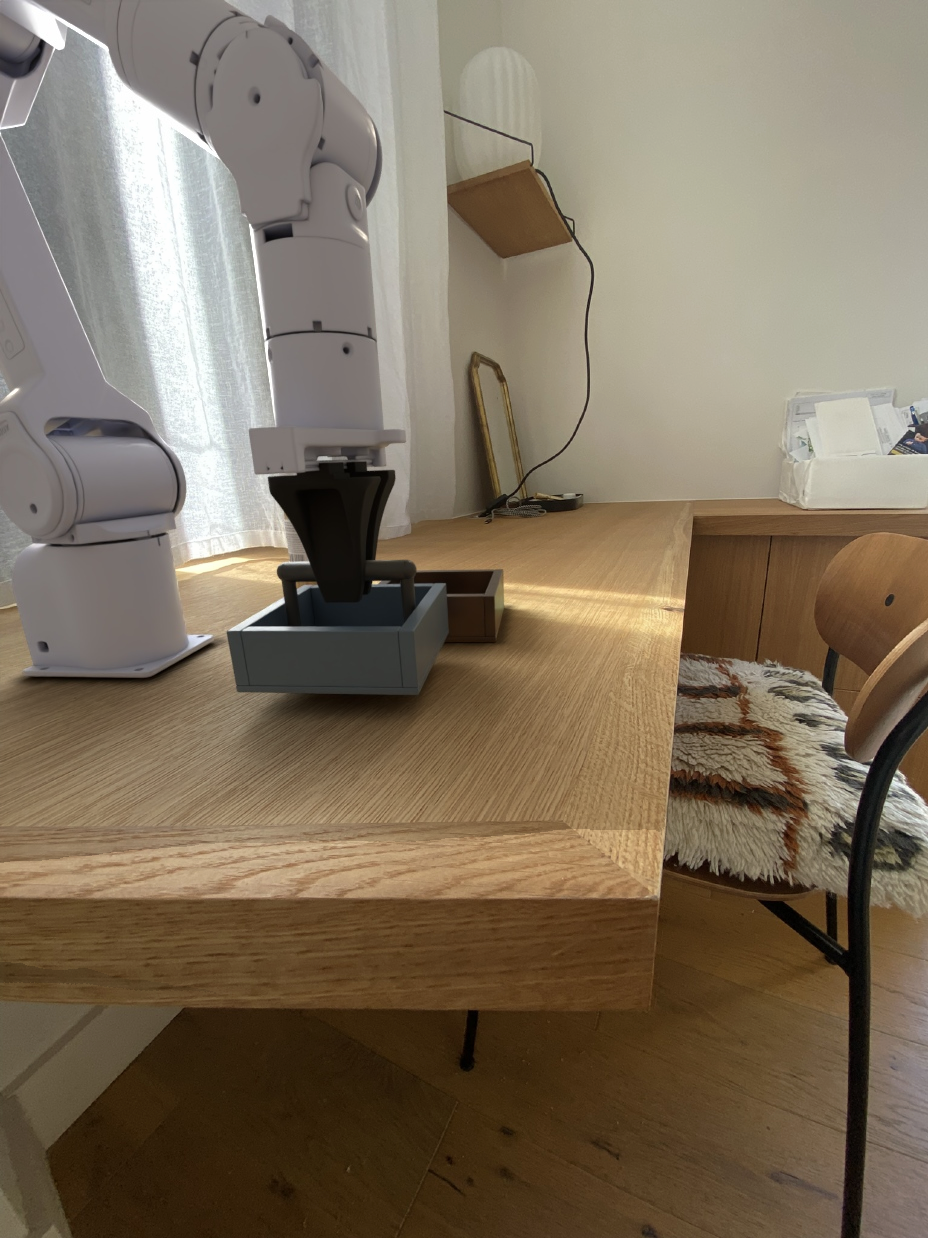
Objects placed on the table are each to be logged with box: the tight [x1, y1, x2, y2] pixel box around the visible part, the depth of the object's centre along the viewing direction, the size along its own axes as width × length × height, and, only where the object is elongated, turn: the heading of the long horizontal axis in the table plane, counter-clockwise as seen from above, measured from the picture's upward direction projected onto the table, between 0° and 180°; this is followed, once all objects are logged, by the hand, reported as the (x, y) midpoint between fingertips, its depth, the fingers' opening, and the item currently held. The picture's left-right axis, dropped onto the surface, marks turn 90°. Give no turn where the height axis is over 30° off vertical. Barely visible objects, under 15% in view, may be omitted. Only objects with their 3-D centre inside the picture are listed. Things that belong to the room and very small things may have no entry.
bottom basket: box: [377, 568, 505, 643], centre depth 46 cm, size 10×10×4 cm
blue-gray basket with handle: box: [226, 559, 449, 696], centre depth 33 cm, size 10×10×6 cm
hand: (348, 597), depth 33 cm, fingers closed on blue-gray basket with handle
